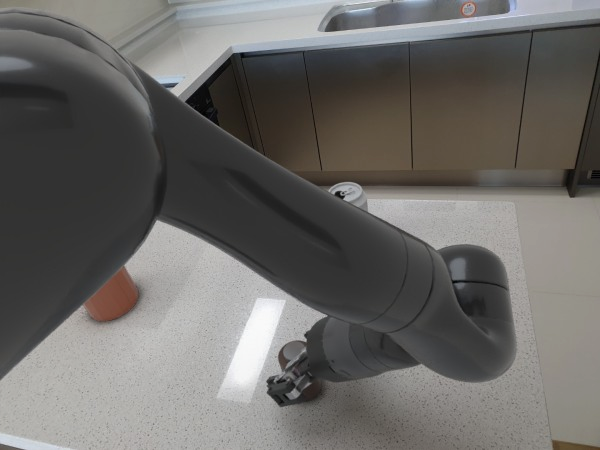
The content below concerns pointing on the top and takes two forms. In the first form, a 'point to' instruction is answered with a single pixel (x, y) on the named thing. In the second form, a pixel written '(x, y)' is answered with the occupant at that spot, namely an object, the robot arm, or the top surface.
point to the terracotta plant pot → (113, 297)
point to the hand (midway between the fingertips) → (291, 361)
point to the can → (351, 194)
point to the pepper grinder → (297, 366)
